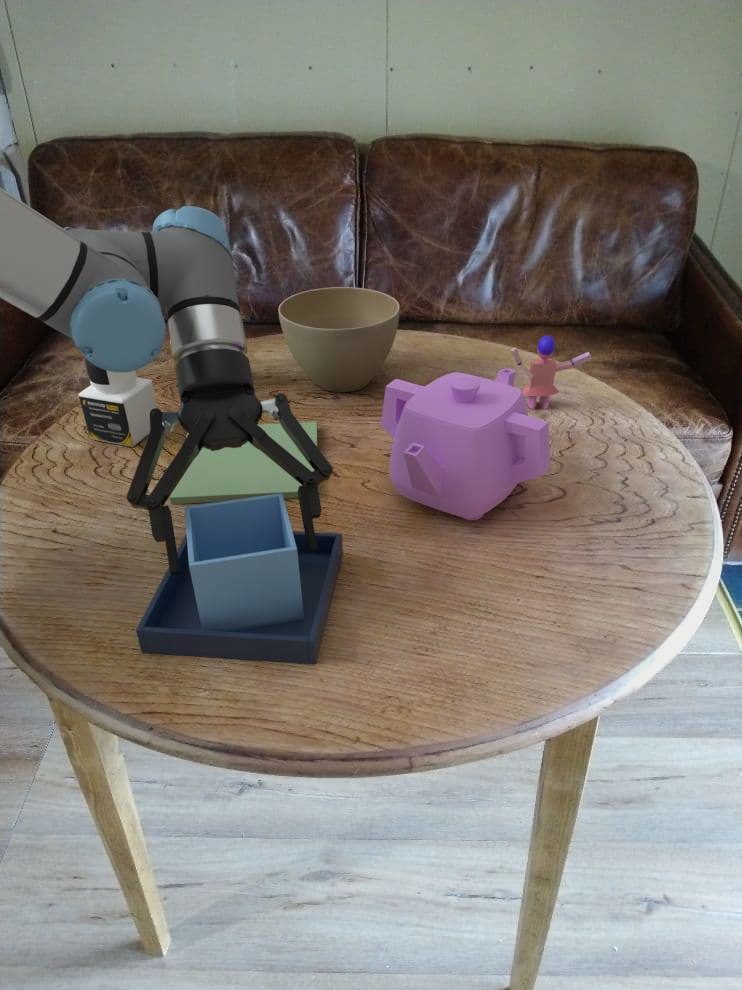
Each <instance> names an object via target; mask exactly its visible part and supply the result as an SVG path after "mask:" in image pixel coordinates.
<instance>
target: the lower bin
mask: <svg viewBox="0 0 742 990" xmlns="http://www.w3.org/2000/svg"><path fill="white" fill-rule="evenodd" d="M292 531H293V535H294V539H295V543H296V547H297V553H298V563H299V573H300V583H301V593H302V602H303V612H304V620H298V621H292V622H286V623H281V624H275V625H269V626H264V627H258V628H252V629H247V630H241V631H235V632H220V631H204V630H202V626H201V621H200V616H199V612H198V607H197V602H196V597H195V592H194V587H193V583H192V578H191V573H190V568H189V559H188V546H187V533H186V534H185V535H184V538H183V539H182V541H181V543H180V545H179V547H178V548H177V555H178V561H179V567H180V574H178V575H172V574H171V573H170V569H169V567H168V568H167V570H166V572H165V574H164V575H163V577H162V579H161V581H160V583H159V585H158V587H157V589H156V591H155V592H154V595H153V597H152V598H151V600H150V602H149V604H148V606H147V608H146V609H145V612H144V614H143V615H142V617H141V619H140V621H139V623H138V625H137V627H136V629H135V633H136V636H137V640H138V644H139V647H140V651H141V653H142V654H153V655H171V656H187V657H200V658H201V657H202V658H216V659H231V660H246V661H261V662H276V663H278V662H279V663H293V664H308V665H310V664H311V665H316V664H317V662H318V658H319V654H320V650H321V646H322V642H323V637H324V634H325V629H326V626H327V622H328V618H329V613H330V610H331V605H332V602H333V598H334V592H335V590H336V585H337V581H338V578H339V577H338V576H339V573H340V569H341V565H342V561H343V558H344V557H343V556H344V546H343V533H339V532H338V533H337V532H318V531H317V532H316V531H315V536H316V542H317V547H318V548H317V550H316V552H311V553H308V548H307V542H306V537H305V531H301V530H299V531H298V530H292Z"/></svg>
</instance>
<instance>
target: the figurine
mask: <svg viewBox="0 0 742 990" xmlns="http://www.w3.org/2000/svg"><path fill="white" fill-rule="evenodd" d="M555 349H556V341H555V339H554V338H553V336H551V335H544V336H542V337H541V338H540V339H539V341H538V343H537V348H536V352H537V355H538V357H539V358H540V359H531V360H530V366H529V368H528V367H526V365H525V364H524V363H523V361H522V358H521V356H520V353H519V351H518V348H517V347H513V348H511V349H510V350H509V351H510V353H511V357H512V358H513V361H514V363H515V364H516V365H517V366H518V368H519V369H520V370H521V371H522V372H523V373H524V374H525V375H526V376H527V378H528V380H527V381H528V382H527V385H526V386H525V387H524V388H523V389H521V391H522V392H523V395H524V396H526V397H527V399H526V400H527V401H526V406H527V407H528V408H530V409H531V410H536V405H537V398H538V397H539V403H538V404H539V406H540V408H542V409H545V410H548V409H549V408H550V402H551V401H550V399H551V396H554V395H557V394H558V393H560V390H559V389H558V388H557V386H555V385H554V382H555V377H556V376H555V375H556V373H558V372H562V371H567V370H570V369H573V367H578V366H580V365H582V364H584V363H587V362H589V361H592V355H591V354H590V351H587V352H585V353H582V354H580V355H578V356H575V357H573V358H571V360H566V361H561V362H557V361H556V360H555V358H554V359H553V358H552V356H553V355H554V353H555ZM551 358H552V359H551Z"/></svg>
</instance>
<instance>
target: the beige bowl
mask: <svg viewBox="0 0 742 990" xmlns="http://www.w3.org/2000/svg"><path fill="white" fill-rule="evenodd" d="M400 309H401V308H400V303H399V302H398V300H397V299H395V298H394V297H392V296H391V295H389V294H387V293H384V292H382V291H378V290H374V289H370V288H364V287H353V286H351V287H350V286H331V287H322V288H316V289H315V288H314V289H309V290H304V291H301V292H297V293H296V294H293V295H290V296H288V297H287V298H285V299H284V300H282V302H281V303H280V304H279V306H278V309H277V311H278V318H279V324H280V328H281V330H282V334H283V337H284V340H285V342H286V344H287V348H288V349H289V352H290V353H291V355H292V356H293V359H294V360H295V362H296V363H297V365H298V366H299V368H300V369H301V370H302V372H304V374H305V375H306V376H307V377H308V378H309V379H310V380H311V381H312V382H313V383H314V384H315V385H316V386H317V387H319V388H320V389H322V390H325V391H328V392H332V393H333V392H334V393H348V392H349V393H351V392H355V391H359V390H360V389H363V388H364V387H366V386H367V385H368V384H370V382H372V381H373V379H374V378H375V377H376V375H377V374H378V373H379V371H380V370H381V369H382V367H383V365H384V363H385V362H386V361H387V358H388V357H389V354H390V352H391V350H392V348H393V345H394V342H395V339H396V336H397V333H398V332H397V331H398V326H399V321H400Z"/></svg>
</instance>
